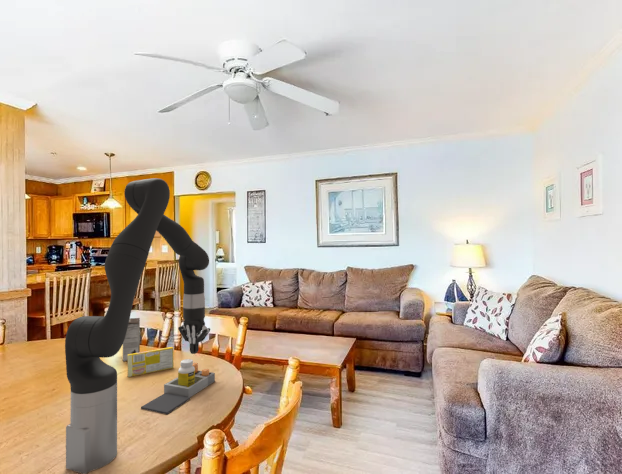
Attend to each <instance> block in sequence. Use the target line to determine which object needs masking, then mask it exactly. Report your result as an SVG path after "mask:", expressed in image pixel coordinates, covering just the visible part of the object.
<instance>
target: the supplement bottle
mask: <svg viewBox="0 0 622 474" xmlns="http://www.w3.org/2000/svg"><path fill="white" fill-rule="evenodd" d="M193 363H194V360H193V359H191V358H186V359H182V360H181V361H180V364H179V365H180V367H179V368H178V370H177V377H178V386H184V387H189V386H191V385H193V384H194V383H195V367H194V366H192V365H193Z"/></svg>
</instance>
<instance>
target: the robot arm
mask: <svg viewBox="0 0 622 474" xmlns="http://www.w3.org/2000/svg"><path fill="white" fill-rule="evenodd" d="M170 192H171V191H170V187H169V184H168V183H167V182H166V180H164V179H162V178H157V177H155V178H154V177H153V178H146V179H137V180H133V181H130V182H128V183H127V184H126V186H125V188H124V198H125V200H126V203H127V204H128V206H129V207H130V208H131V209H132V210H133V211H134V212H135V213H136V214H137V215H136V217H134V219H133V220H132V221H130V223H128V225H127V226H126V227H124V228H123V230H122V231H120V233H119V234H118V235H117V236H116V237H115V238H114V239H113V242H112V244H111V245H110V248H109V250H108V253H107V256H106V258H105V260H104V261H105V262H104V272H105V276H106V278H107V282H108V285H109V289H110V299H109V306H108V307H107V311H106V313H105V314H104V315H103V316H102V315H101V316H97V315H91V316H90V315H87V316H86V315H84V316H79V317H77V318H75V319H74V320H73V321H72V322H71V323H70V325H69V327H68V328H67V330H66V334H65V340H64V351H65V352H64V354H65V366H66V367H65V369H66V371H65V372H66V377H67V381H68V382H69V385H70V387H69V388H70V421H69V422H70V423H69V424H67V425H66V426H65V469H66V470H71V471H73V472H77V473H78V474H79V473H80V474H88V473H89V472H92V471H95V470H98V469H100V468H103V467H105V466H107V465H109V463H111V462H112V461H113V460H114V459H115V458H116V456H117V455H118V372H117V369H116V368H115V367H113V366H112V365H109V364H107V363H106V362H104V361H103V360H102V358H112V357H114V356H115V355H117V354H118V352H120V350H121V348H122V347H123V342H124V339H125V336H126V332H127V328H128V324H129V319H130V318H131V313H132V310H133V305H134V300H135V297H136V293H137V290H138V287H139V285H140V284H139V283H140V281H141V278H142V276H143V272H144V269H145V267H146V264H147V260H148V257H149V254H150V250H151V247H152V244H153V240H154V238H155V236H156V233H158V234H159V235H161V237H162V238H163V239H164V240H165V241H166V243H167V244H168V245H169V246H170V248H171V249H172V251H174V253H175V254H176V255H179V258H178V266H179V270H180V273H181V277H182V281H183V299H182V303H183V304H182V314H183V315H182V319H183V324H182V325H181V326H178V328H177V330H178V332H179V333H180V335H181V336H182V338H183V340H184V341H185V342H188V343H189V352H190V354H192V355H196V354H197V353H198V352H199V351H200V350H199V346H200V345H199V343H201V342H203V341H204V340H205V338H206V337H207V336H208V334H209V333H210V332H211V328H210V327H207V326H206V322H205V319H206V318H205V317H206V301H205V300H206V298H205V296H206V295H205V280H204V277H203V276H198V275H197V274H196V272H195V271H204V270H206V269H207V268H208V266H209V264H210V258H209V254H208V253H207V251H205V249H204V248H202V247H201V246H200V245H199V244H198V243H196V242H195V241H194V240H193V239H192V237H190V234H189V233H188V232H187V231H186V229H185V228H184V227H183V226H182V225H180V224H179V223H178V222H176V221H175V220H173V219H171V218H170V217H168V216H166V214H165V212H166V210H167V208H168V205H169V201H170V196H171V193H170Z"/></svg>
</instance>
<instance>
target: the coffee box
mask: <svg viewBox="0 0 622 474" xmlns="http://www.w3.org/2000/svg"><path fill="white" fill-rule="evenodd" d="M140 323H141V322H140V317H136V318H131V317H130V319H129V324H128V328H127V332H126V336H125V339H124V342H123V345H122V361H123V362H128V358H127V354H133V353H139V352H141V351H140V350H141V349H140V347H141V345H140V343H141V342H140V341H141V339H140V333H141V332H140V329H141V327H140Z"/></svg>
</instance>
